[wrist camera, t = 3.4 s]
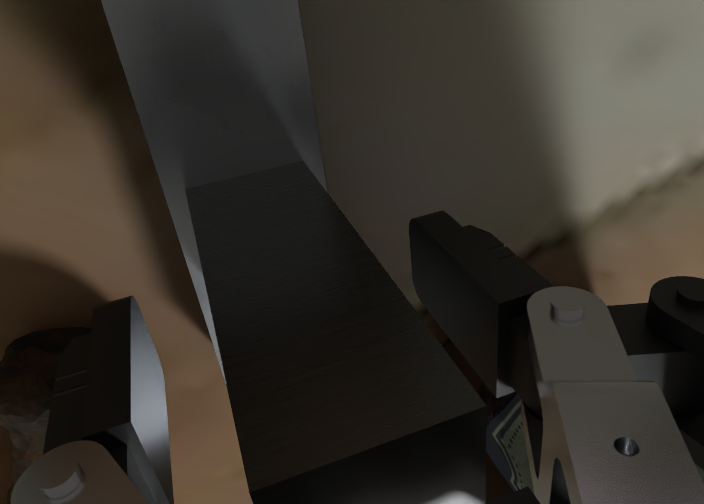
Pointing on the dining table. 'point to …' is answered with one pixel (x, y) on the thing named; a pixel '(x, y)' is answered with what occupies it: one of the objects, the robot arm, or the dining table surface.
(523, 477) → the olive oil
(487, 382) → the robot arm
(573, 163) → the dining table surface
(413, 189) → the dining table surface
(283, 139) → the scraper
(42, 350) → the hand tool
